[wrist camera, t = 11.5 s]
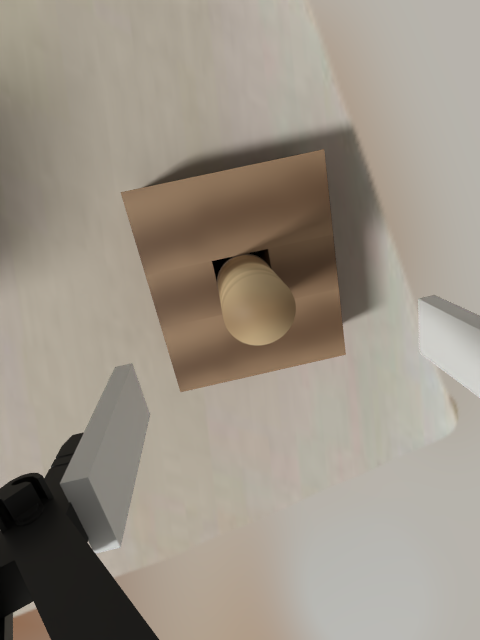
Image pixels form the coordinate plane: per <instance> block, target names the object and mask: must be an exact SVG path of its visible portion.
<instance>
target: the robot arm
mask: <svg viewBox="0 0 480 640" xmlns="http://www.w3.org/2000/svg"><path fill="white" fill-rule="evenodd" d="M418 315H419V353H420V354H422V355H423V356H424V357H426V358H427V359H428V360H430V361H431V362H432V363H434V364H435V365H436V366H438V367H439V368H440V369H442V370H443V371H444V372H446V373H447V374H448V375H450V376H451V377H452V378H454V379H455V380H456V381H458V382H459V383H460V384H462V385H463V386H465V387H466V388H467V389H468V390H470V391H471V392H473V393H474V394H475V395H476V396H478V397H479V398H480V316H479V315H477V314H475V313H473V312H471V311H468V310H466V309H464V308H462V307H460V306H457V305H455V304H453V303H451V302H449V301H447V300H444V299H442V298H440V297H438V296H435V295H432V296H428V297H424V298H419V299H418ZM149 417H150V413H149V410H148V407H147V404H146V401H145V398H144V396H143V393H142V390H141V387H140V384H139V381H138V378H137V375H136V373H135V370H134V367H133V364H132V363H131V364H127V365H123V366H118V367H115V369H114V371H113V373H112V375H111V377H110V379H109V381H108V383H107V385H106V387H105V390H104V392H103V394H102V396H101V398H100V400H99V402H98V404H97V406H96V408H95V411H94V413H93V415H92V417H91V419H90V421H89V423H88V425H87V427H86V429H85V432H84V433H80V434H76V435H72V436H71V437H70V438H69V439H68V440H67V441H66V442H65V443H64V445H63V446H62V447H61V449H60V451H59V452H58V454H57V456H56V459H55V460H54V462H53V464H52V465H51V469H49V471H48V473H47V475H46V477H45V479H44V478H43V476H42V475H40V474H39V473H29V474H25V475H22V476H19V477H17V478H15V479H13V480H12V481H10V482H8V483H7V484H6V485H4V486H3V487H2V488H0V530H1V531H0V640H13V612H15V611H17V610H19V609H20V608H22V607H24V606H26V605H28V604H29V603H31V602H33V601H34V603H35V605H36V608H37V610H38V612H39V614H40V616H41V618H42V621H43V623H44V625H45V627H46V629H47V632H48V634H49V636H50V638H51V640H159V639H158V638H157V636H156V635H155V633H154V632H153V631H152V629H151V628H150V627H149V625H148V624H147V623H146V621H145V620H144V619H143V617H142V616H141V615H140V613H139V612H138V611H137V609H136V608H135V606H134V605H133V604H132V602H131V601H130V600H129V598H128V597H127V596H126V594H125V593H124V592H123V590H122V589H121V588H120V586H119V585H118V584H117V582H116V581H115V579H114V578H113V577H112V575H111V574H110V573H109V571H108V570H107V569H106V567H105V566H104V565H103V563H102V562H101V561H100V559H99V558H98V557H97V555H96V553H100V552H104V551H108V550H112V549H116V548H120V547H121V543H122V538H123V534H124V529H125V525H126V520H127V516H128V511H129V507H130V502H131V498H132V493H133V489H134V484H135V480H136V475H137V471H138V466H139V462H140V457H141V453H142V448H143V444H144V439H145V435H146V431H147V426H148V422H149ZM88 541H89V543H90V545H91V547H92V548H91V547H90V546H89V544H88V543H87V542H88ZM92 549H93V550H92Z"/></svg>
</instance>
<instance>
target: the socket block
mask: <svg viewBox="0 0 480 640" xmlns="http://www.w3.org/2000/svg"><path fill="white" fill-rule="evenodd" d="M121 195H122V198H123V202H124V205H125V208H126V212H127V215H128V218H129V222H130V225H131V228H132V232H133V235H134V238H135V242H136V245H137V248H138V252H139V255H140V258H141V262H142V265H143V268H144V272H145V275H146V278H147V282H148V285H149V288H150V292H151V295H152V298H153V302H154V305H155V308H156V312H157V315H158V318H159V322H160V325H161V328H162V332H163V335H164V338H165V342H166V345H167V348H168V352H169V355H170V358H171V362H172V365H173V368H174V372H175V375H176V378H177V382H178V385H179V388H180V392H183V391H188V390H192V389H197V388H201V387H205V386H210V385H214V384H219V383H223V382H227V381H232V380H236V379H241V378H245V377H249V376H254V375H258V374H263V373H267V372H271V371H276V370H280V369H285V368H289V367H293V366H298V365H302V364H306V363H311V362H315V361H320V360H324V359H328V358H333V357H337V356H342V355H346V353H345V343H344V334H343V324H342V314H341V305H340V295H339V286H338V276H337V267H336V257H335V248H334V238H333V229H332V219H331V209H330V200H329V190H328V181H327V171H326V162H325V152H324V149H323V150H318V151H313V152H309V153H304V154H299V155H295V156H290V157H285V158H280V159H276V160H271V161H266V162H262V163H257V164H252V165H247V166H243V167H238V168H233V169H229V170H224V171H219V172H215V173H210V174H205V175H200V176H196V177H191V178H186V179H182V180H177V181H172V182H167V183H163V184H158V185H153V186H149V187H144V188H139V189H134V190H130V191H125V192H121ZM256 251H260V256H261V259H263V260H264V261H265V262H266V263H267V264H268V265H269V267H270V268H271V269H272V270H273V271H274V272H275V273H276V275H277V276H278V277H279V278H280V279H281V280H282V281H283V282H284V283H285V284H286V285H287V286H288V288H289V289H290V290H291V292H292V294H293V296H294V299H295V303H296V314H295V318H294V321H293V323H292V325H291V327H290V329H289V330H288V331H287V332H286V334H284V335H283V336H282V337H281V338H280V339H278V340H276V341H275V342H272V343H270V344H266V345H257V346H256V345H249V344H245V343H243V342H241V341H239V340H237V339H236V338H235V337H234V336H232V335H231V333H230V332H229V331H228V329H227V328H226V325H225V323H224V320H223V314H222V308H221V303H220V297H219V293H218V289H217V277H216V273H215V268H214V264H213V261H214V260H219V259H223V258H228V257H233V256H237V255H241V254H246V253H251V252H256Z"/></svg>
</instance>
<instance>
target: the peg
mask: <svg viewBox="0 0 480 640" xmlns="http://www.w3.org/2000/svg"><path fill="white" fill-rule="evenodd" d="M217 289H218V293H219V297H220V303H221V308H222V314H223V320H224V323H225V325H226V328H227V329H228V331H229V332H230V333H231V335H232V336H234V337H235V338H236V339H237V340H239V341H241V342H243V343H245V344H249V345H256V346H257V345H266V344H270V343H272V342H275V341H276V340H278V339H280V338H281V337H282V336H283V335H284V334H286V332H287V331H288V330H289V329H290V327H291V325H292V323H293V321H294V318H295V314H296V303H295V299H294V296H293V294H292V292H291V290H290V289H289V288H288V286H287V285H286V284H285V283H284V282H283V281H282V280H281V279H280V278H279V277H278V276H277V275H276V273H275V272H274V271H273V270H272V269H271V268H270V267H269V265H268V264H267V263H266V262H265V261H264V260H263V259H261V258H260V257H258V256H255V255H252V254H241V255H237V256H233V257H228V258H225V260H224V261H223V264H222V267H221V269H220V271H219V273H218V277H217Z"/></svg>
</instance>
